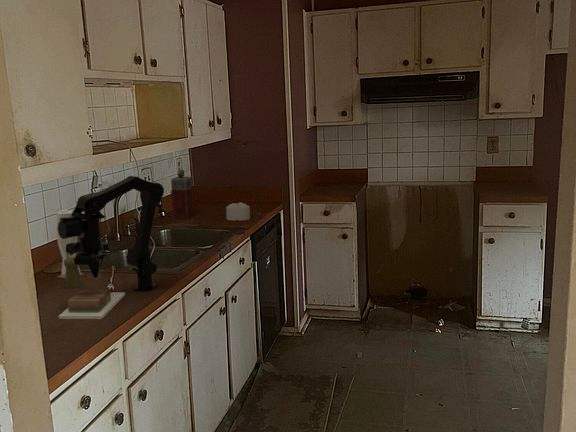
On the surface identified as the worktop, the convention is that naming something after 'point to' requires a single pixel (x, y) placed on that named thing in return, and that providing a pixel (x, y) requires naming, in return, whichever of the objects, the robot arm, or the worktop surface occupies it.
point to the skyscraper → (65, 241)
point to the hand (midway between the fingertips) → (95, 277)
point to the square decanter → (182, 196)
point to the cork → (72, 274)
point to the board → (114, 300)
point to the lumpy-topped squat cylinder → (238, 211)
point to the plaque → (89, 301)
